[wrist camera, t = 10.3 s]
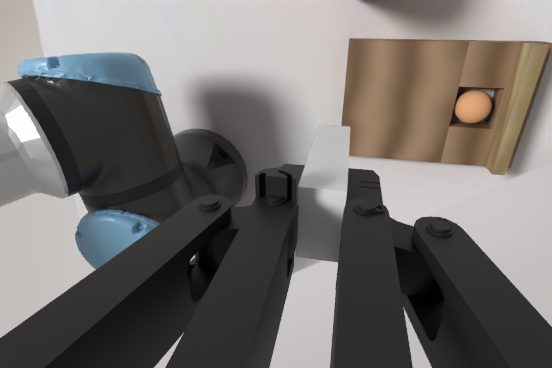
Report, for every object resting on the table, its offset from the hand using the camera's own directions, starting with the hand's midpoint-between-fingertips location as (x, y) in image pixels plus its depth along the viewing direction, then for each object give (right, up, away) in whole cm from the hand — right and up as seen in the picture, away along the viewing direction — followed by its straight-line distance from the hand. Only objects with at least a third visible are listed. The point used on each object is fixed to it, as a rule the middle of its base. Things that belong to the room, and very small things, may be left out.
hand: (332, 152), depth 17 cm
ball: (+22, +8, +26) cm, 35 cm away
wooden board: (+17, +9, +28) cm, 35 cm away
